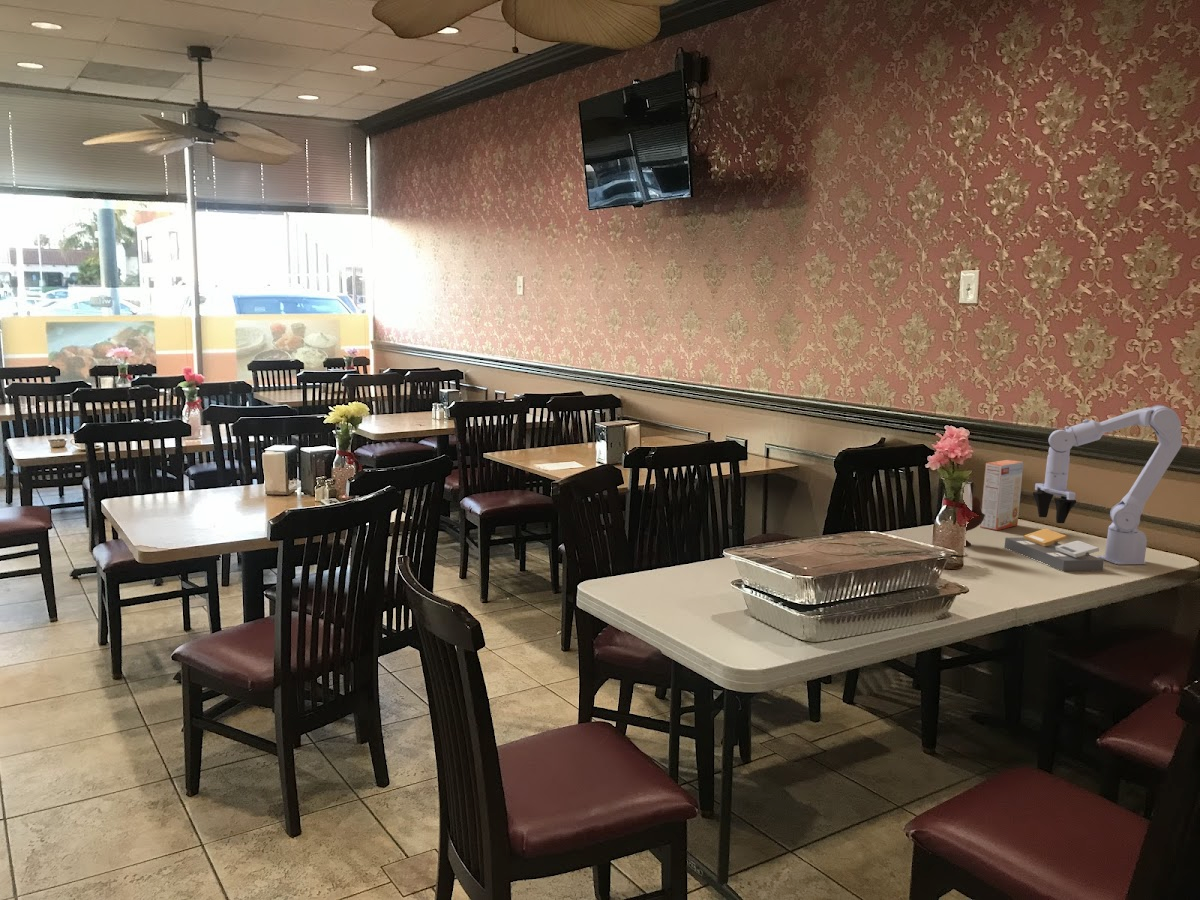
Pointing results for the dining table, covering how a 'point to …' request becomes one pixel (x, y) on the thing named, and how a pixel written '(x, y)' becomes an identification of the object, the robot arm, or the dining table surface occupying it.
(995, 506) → the cracker box
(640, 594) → the dining table surface
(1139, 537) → the robot arm
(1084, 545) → the rocker
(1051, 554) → the rocker switch panel
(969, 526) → the ice cream bowl
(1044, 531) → the plate
